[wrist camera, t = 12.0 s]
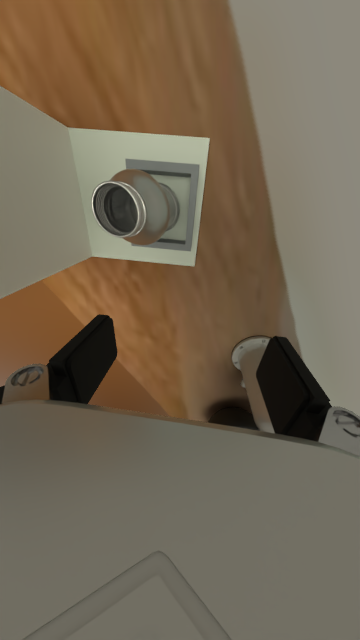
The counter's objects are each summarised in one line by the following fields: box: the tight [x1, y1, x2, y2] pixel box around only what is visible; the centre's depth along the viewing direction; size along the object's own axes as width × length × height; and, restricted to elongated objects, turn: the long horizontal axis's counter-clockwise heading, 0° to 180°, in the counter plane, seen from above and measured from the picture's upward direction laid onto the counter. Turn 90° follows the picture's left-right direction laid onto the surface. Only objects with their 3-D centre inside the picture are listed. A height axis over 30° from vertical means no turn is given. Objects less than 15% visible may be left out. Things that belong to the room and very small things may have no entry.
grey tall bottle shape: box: [91, 169, 180, 245], centre depth 21 cm, size 6×7×20 cm
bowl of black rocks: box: [208, 408, 260, 431], centre depth 54 cm, size 20×20×19 cm
